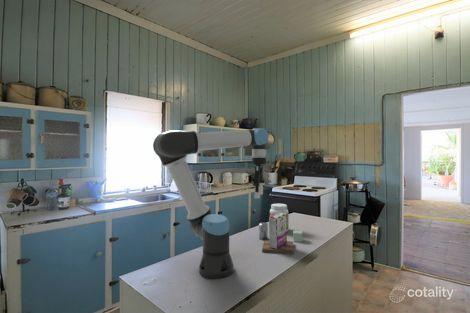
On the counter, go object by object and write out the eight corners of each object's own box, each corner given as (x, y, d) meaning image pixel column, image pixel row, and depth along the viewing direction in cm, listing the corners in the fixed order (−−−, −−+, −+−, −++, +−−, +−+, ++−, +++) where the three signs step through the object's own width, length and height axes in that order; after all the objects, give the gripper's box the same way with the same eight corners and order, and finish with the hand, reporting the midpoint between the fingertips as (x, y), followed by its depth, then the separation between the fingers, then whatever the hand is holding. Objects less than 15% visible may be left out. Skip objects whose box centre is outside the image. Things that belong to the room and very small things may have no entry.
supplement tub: (280, 234, 160) (279, 207, 160) (266, 230, 170) (265, 204, 169) (292, 230, 168) (292, 205, 168) (278, 226, 177) (278, 202, 177)
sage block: (302, 242, 146) (302, 233, 146) (293, 241, 147) (293, 233, 147) (301, 239, 151) (301, 230, 151) (293, 238, 152) (293, 230, 152)
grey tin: (267, 240, 150) (267, 225, 150) (258, 239, 151) (258, 224, 151) (267, 237, 155) (267, 222, 155) (259, 237, 156) (259, 222, 156)
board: (293, 254, 129) (293, 251, 129) (262, 252, 132) (262, 249, 132) (292, 244, 143) (292, 241, 143) (264, 242, 146) (264, 240, 146)
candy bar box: (278, 241, 143) (278, 212, 143) (287, 243, 140) (286, 213, 140) (268, 247, 134) (268, 216, 134) (277, 249, 131) (277, 217, 131)
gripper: (263, 157, 125) (263, 200, 125) (268, 157, 150) (267, 193, 150) (248, 157, 127) (248, 199, 127) (255, 157, 151) (255, 192, 151)
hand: (258, 196), depth 138 cm, fingers open, 13 cm apart
